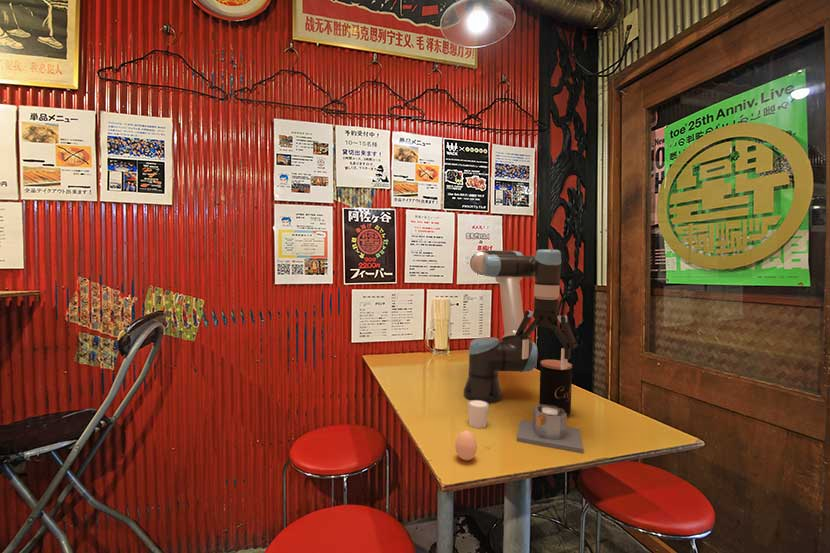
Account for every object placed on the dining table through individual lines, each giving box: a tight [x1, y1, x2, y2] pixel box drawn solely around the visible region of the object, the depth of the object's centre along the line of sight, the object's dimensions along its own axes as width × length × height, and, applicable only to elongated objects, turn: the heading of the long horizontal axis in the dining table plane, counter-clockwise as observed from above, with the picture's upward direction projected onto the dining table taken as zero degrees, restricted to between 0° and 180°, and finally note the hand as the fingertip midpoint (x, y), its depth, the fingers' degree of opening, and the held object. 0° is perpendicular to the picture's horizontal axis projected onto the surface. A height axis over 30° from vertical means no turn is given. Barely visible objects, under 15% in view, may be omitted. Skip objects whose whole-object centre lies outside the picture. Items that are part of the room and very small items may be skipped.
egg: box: [454, 430, 478, 461], centre depth 95 cm, size 6×6×8 cm
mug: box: [532, 404, 567, 440], centre depth 109 cm, size 10×9×7 cm
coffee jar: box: [538, 359, 573, 418], centre depth 128 cm, size 11×11×18 cm
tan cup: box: [467, 400, 490, 429], centre depth 117 cm, size 7×7×7 cm
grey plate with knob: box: [516, 407, 584, 454], centre depth 109 cm, size 18×14×8 cm
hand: (543, 363), depth 114 cm, fingers open, 13 cm apart
